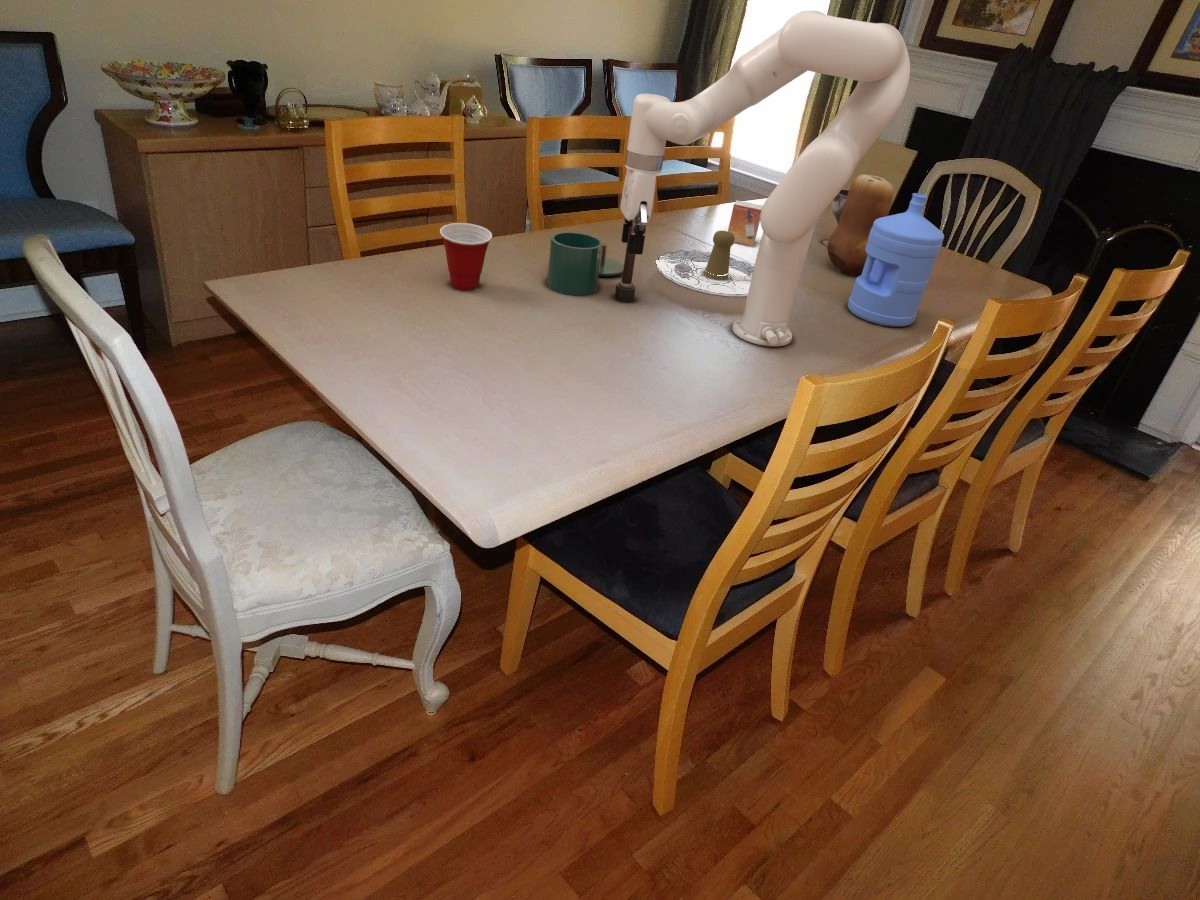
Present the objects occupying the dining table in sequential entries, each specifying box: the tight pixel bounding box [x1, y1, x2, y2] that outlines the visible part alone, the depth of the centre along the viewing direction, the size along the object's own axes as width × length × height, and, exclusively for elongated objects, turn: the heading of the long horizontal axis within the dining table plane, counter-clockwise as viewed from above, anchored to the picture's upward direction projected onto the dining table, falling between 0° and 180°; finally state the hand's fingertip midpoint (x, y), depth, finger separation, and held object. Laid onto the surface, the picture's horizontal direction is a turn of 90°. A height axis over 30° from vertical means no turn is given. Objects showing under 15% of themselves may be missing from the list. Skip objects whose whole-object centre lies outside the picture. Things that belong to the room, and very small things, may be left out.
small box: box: [727, 199, 764, 247], centre depth 216 cm, size 8×6×10 cm
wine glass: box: [822, 189, 850, 246], centre depth 224 cm, size 8×8×15 cm
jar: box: [546, 231, 604, 296], centre depth 171 cm, size 11×11×10 cm
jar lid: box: [599, 242, 624, 277], centre depth 183 cm, size 12×12×6 cm
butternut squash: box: [826, 173, 895, 276], centre depth 201 cm, size 14×13×25 cm
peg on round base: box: [614, 226, 637, 303], centre depth 166 cm, size 4×4×16 cm
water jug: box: [847, 192, 945, 328], centre depth 174 cm, size 16×16×28 cm
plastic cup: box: [439, 222, 493, 291], centre depth 162 cm, size 11×11×12 cm
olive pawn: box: [703, 230, 735, 281], centre depth 188 cm, size 6×6×11 cm
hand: (631, 247), depth 164 cm, fingers open, 6 cm apart
